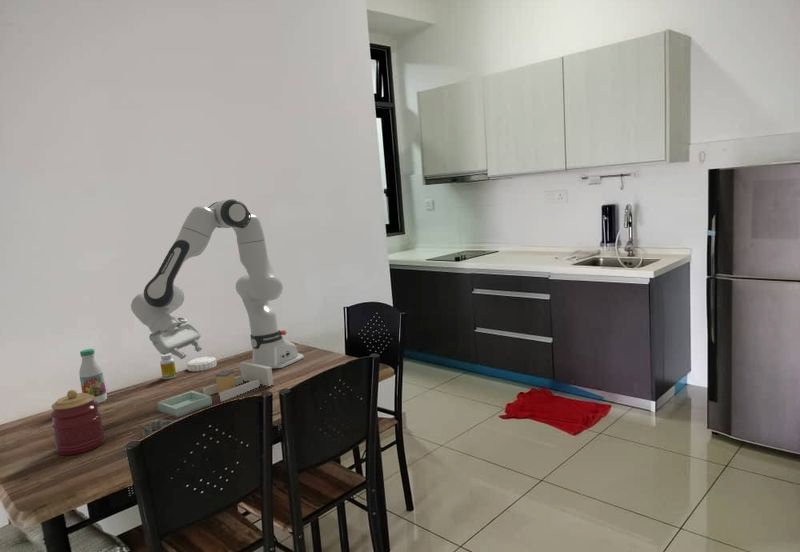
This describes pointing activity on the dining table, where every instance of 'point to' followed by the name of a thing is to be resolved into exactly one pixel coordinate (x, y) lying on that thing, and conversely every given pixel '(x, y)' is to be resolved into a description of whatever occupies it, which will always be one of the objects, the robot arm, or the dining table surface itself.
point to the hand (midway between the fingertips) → (192, 353)
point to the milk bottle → (92, 376)
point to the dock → (248, 373)
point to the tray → (184, 403)
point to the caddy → (225, 380)
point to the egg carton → (154, 426)
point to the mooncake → (201, 364)
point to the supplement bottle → (167, 366)
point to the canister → (76, 423)
